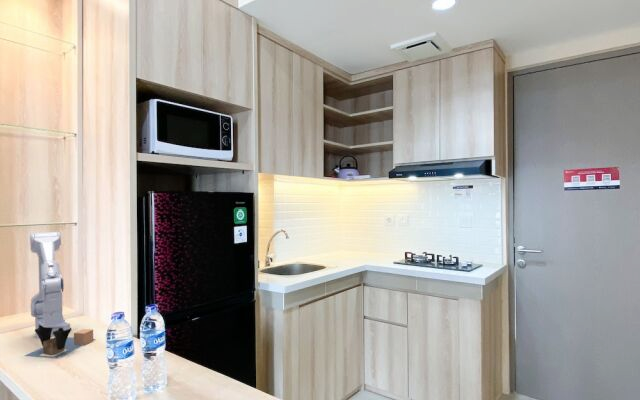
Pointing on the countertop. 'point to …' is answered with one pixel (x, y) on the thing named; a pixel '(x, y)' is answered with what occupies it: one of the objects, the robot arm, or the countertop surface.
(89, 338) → the terracotta block
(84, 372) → the countertop surface
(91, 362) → the countertop surface
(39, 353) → the blueprint board
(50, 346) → the walnut block
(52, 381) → the countertop surface
